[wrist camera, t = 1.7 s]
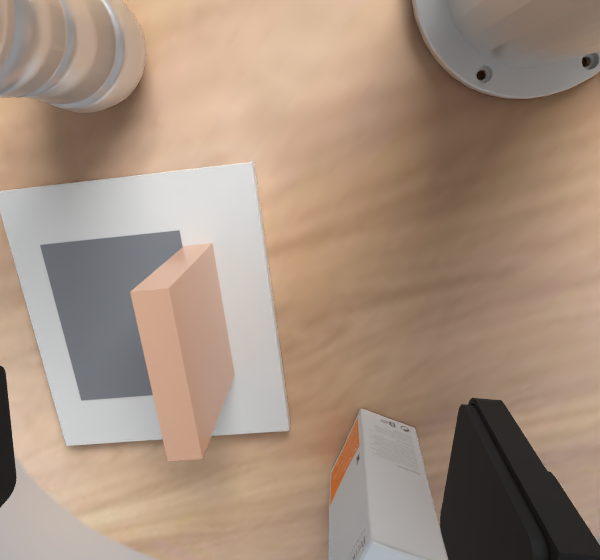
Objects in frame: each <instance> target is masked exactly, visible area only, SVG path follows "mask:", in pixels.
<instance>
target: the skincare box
mask: <svg viewBox="0 0 600 560" xmlns="http://www.w3.org/2000/svg"><path fill="white" fill-rule="evenodd" d="M328 560H448V558H447V554H446V550H445V546H444V542H443V538H442V535H441V530H440V526H439V522H438V518H437V514H436V510H435V506H434V502H433V498H432V494H431V490H430V486H429V482H428V478H427V474H426V470H425V466H424V462H423V457H422V453H421V449H420V445H419V441H418V437H417V433H416V429H415V428H414V427H411V426H409V425H406V424H403V423H400V422H398V421H395V420H392V419H389V418H387V417H384V416H381V415H379V414H376V413H373V412H371V411H368V410H365V409H360V410H359V413H358V415H357V418H356V420H355V422H354V424H353V426H352V428H351V431H350V433H349V435H348V437H347V439H346V442H345V444H344V446H343V448H342V450H341V452H340V454H339V456H338V458H337V460H336V462H335V464H334V466H333V468H332V470H331V472H330V491H329V539H328Z"/></svg>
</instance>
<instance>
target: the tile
mask: <svg viewBox="0 0 600 560" xmlns="http://www.w3.org/2000/svg"><path fill="white" fill-rule="evenodd" d="M130 294H131V298H132V303H133V307H134V312H135V316H136V321H137V325H138V330H139V334H140V339H141V343H142V348H143V352H144V357H145V361H146V366H147V370H148V375H149V380H150V384H151V389H152V393H153V398H154V402H155V407H156V411H157V416H158V420H159V425H160V429H161V434H162V438H163V443H164V447H165V452H166V456H167V461H182V460H198V459H203V457H204V454H205V452H206V449H207V446H208V444H209V441H210V438H211V436H212V433H213V431H214V428H215V425H216V423H217V420H218V418H219V415H220V412H221V410H222V407H223V405H224V402H225V399H226V397H227V394H228V391H229V389H230V386H231V384H232V381H233V378H234V376H235V373H234V367H233V361H232V355H231V349H230V343H229V337H228V331H227V325H226V319H225V313H224V308H223V302H222V296H221V290H220V284H219V278H218V272H217V266H216V260H215V254H214V248H213V243H208V244H198V245H188V246H183V247H182V248H181V249H180V250H179V251H178V252H176V253H175V254H174V255H173V256H172V257H171V258H169V259H168V260H167V261H166V262H165V263H163V264H162V265H161V266H160V267H159V268H158V269H156V270H155V271H154V272H153V273H152V274H151V275H149V276H148V277H147V278H146V279H145V280H144V281H142V282H141V283H140V284H139V285H138V286H136V287H135V288H134V289H133V290H132V291H131V292H130Z"/></svg>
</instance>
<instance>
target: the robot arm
mask: <svg viewBox="0 0 600 560" xmlns="http://www.w3.org/2000/svg"><path fill="white" fill-rule="evenodd" d="M412 4H413V10H414V15H415V20H416V23H417V25H418V28H419V30H420V33H421V36H422V38H423V41H424V42H425V44H426V46H427V47H428V49H429V50H430V52H431V54H432V55H433V57H434V58H435V60H436V61H437V62H438V63H439V64H440V65H441V66H442V67H443V68H444V69H445V70H446V71H447V72H448V73H449V74H450V75H451V76H452V77H454V78H455V79H457V80H458V81H460V82H461V83H462V84H464V85H465V86H467V87H469V88H471V89H474V90H476V91H479V92H481V93H483V94H486V95H490V96H495V97H501V98H506V99H528V98H536V97H542V96H548V95H552V94H555V93H558V92H561V91H564V90H567V89H570V88H572V87H574V86H576V85H578V84H580V83H582V82H584V81H586V80H587V79H589V78H591V77H593V76H594V75H595V74H597V73H598V72H599V71H600V0H412ZM583 58H586V59H587V64H586V66H585V67H583V65H582V59H583ZM479 70H480V71H483V72H484V78H483V79H482V80H479V79H477V76H476V75H477V72H478V71H479ZM15 484H16V468H15V459H14V449H13V439H12V430H11V420H10V410H9V401H8V391H7V381H6V373H5V370H4V368H3V367H2V366H0V507H1V506H2V505H3V504H4V503H5V501H6V500H7V499H8V498H9V497H10V495H11V493H12V492H13V490H14V487H15ZM440 528H441V535H442V538H443V542H444V546H445V549H446V553H447V556H448V560H600V545H599V544H598V542H597V540H596V539H595V537H594V536H593V534H592V533H591V531H590V530H589V528H588V527H587V525H586V524H585V522H584V521H583V519H582V518H581V516H580V514H579V513H578V511H577V510H576V508H575V507H574V505H573V504H572V502H571V501H570V499H569V498H568V496H567V495H566V493H565V492H564V490H563V488H562V487H561V485H560V484H559V482H558V481H557V479H556V478H555V477H554V476H553V474H552V473H551V472H549V471H547V470H546V468H545V467H544V465H543V464H542V462H541V461H540V459H539V458H538V456H537V454H536V453H535V451H534V450H533V448H532V447H531V445H530V444H529V442H528V440H527V439H526V437H525V436H524V434H523V433H522V431H521V429H520V428H519V426H518V425H517V423H516V422H515V420H514V419H513V417H512V415H511V414H510V412H509V411H508V409H507V408H506V406H505V405H504V403H503V402H502V401H501V400H490V399H478V398H472V399H471V400H470V401H469V404H468V405H464V404H462V405H461V406H460V408H459V412H458V417H457V423H456V429H455V434H454V440H453V446H452V452H451V458H450V463H449V469H448V475H447V481H446V486H445V492H444V498H443V504H442V510H441V516H440Z"/></svg>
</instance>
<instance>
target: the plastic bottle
mask: <svg viewBox="0 0 600 560" xmlns="http://www.w3.org/2000/svg"><path fill="white" fill-rule="evenodd" d="M145 62H146V45H145V39H144V35H143V32H142V29H141V26H140V24H139V22H138V20H137V19H136V17H135V15H134V14H133V13H132V11H131V10H130V9H129V8H128V7H127V5H126V4H125V3H124V2H123V1H122V0H0V98H11V97H25V98H30V99H35V100H39V101H44V102H46V103H48V104H50V105H52V106H55V107H59V108H62V109H66V110H69V111H73V112H78V113H92V112H99V111H102V110H104V109H107V108H110V107H112V106H114V105H117V104H118V103H120V102H122V101H123V100H125V99H126V98H127V97H128V96H129V95H130V94H131V93H132V92H133V91H134V89H135V88H136V86H137V85H138V83H139V82H140V79H141V77H142V74H143V72H144V67H145Z"/></svg>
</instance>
